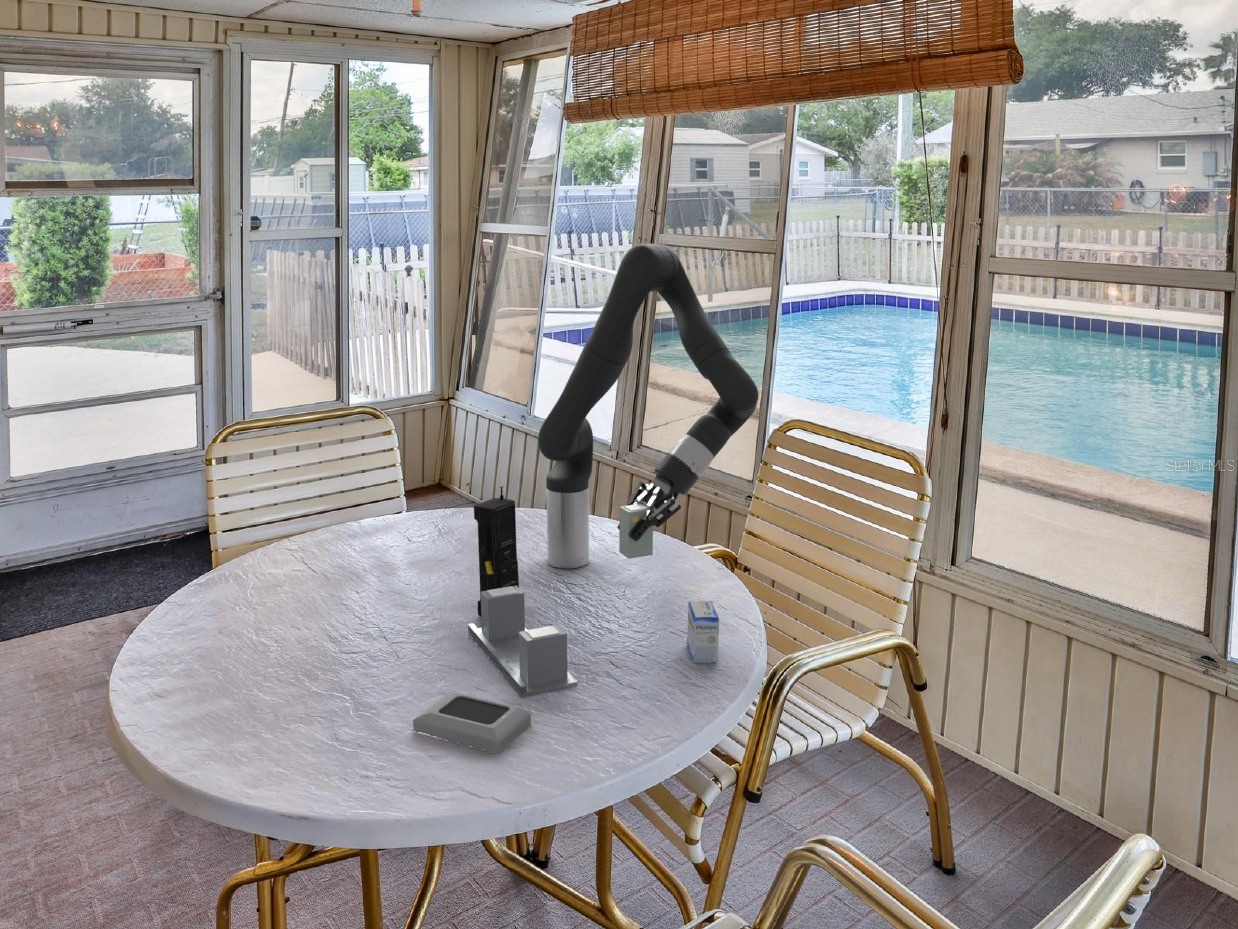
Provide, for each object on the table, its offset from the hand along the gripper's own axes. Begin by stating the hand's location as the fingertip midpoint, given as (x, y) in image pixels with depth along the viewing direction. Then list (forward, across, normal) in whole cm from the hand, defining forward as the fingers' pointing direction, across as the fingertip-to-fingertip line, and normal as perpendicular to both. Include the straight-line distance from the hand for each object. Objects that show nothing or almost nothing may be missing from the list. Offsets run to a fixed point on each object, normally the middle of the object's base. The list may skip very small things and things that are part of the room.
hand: (626, 534), depth 192 cm
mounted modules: (+29, +6, -4) cm, 30 cm away
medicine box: (+8, +18, +17) cm, 26 cm away
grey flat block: (+41, +26, -14) cm, 50 cm away
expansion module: (+2, 0, +4) cm, 5 cm away
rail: (+29, +6, -4) cm, 30 cm away
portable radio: (+27, -14, -2) cm, 31 cm away
